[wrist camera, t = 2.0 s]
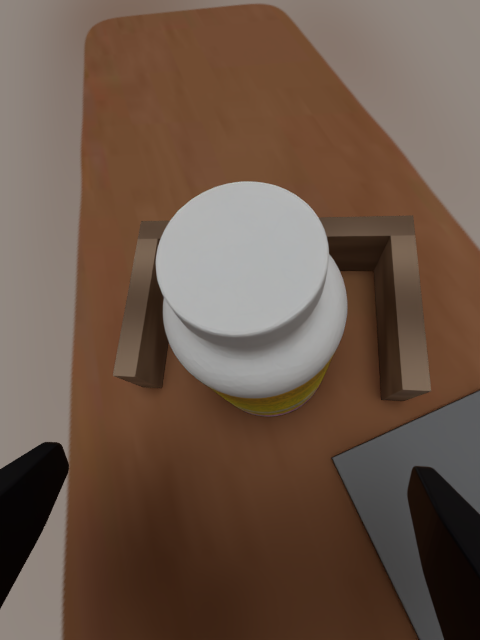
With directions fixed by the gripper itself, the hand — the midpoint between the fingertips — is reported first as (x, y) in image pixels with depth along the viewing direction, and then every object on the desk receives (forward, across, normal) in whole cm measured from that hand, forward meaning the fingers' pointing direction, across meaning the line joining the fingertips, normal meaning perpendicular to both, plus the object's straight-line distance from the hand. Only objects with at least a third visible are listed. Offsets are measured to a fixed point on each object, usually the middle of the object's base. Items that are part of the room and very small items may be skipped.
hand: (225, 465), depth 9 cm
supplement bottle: (+12, 0, +4) cm, 13 cm away
